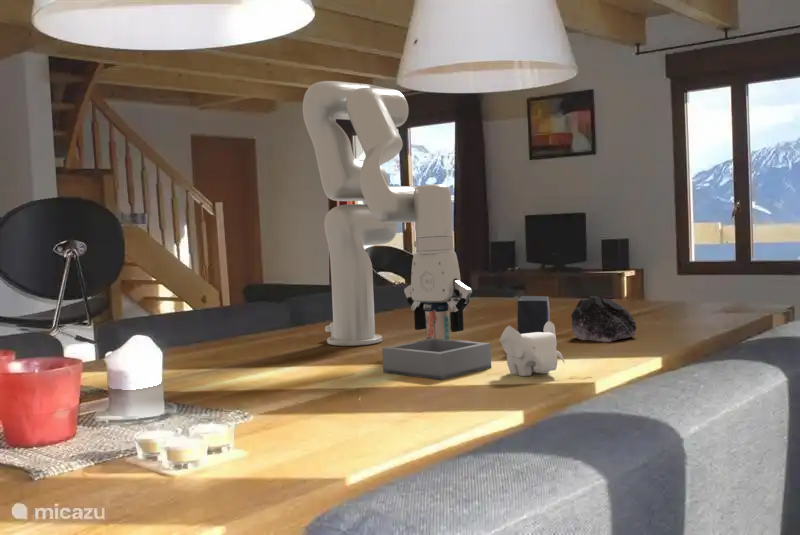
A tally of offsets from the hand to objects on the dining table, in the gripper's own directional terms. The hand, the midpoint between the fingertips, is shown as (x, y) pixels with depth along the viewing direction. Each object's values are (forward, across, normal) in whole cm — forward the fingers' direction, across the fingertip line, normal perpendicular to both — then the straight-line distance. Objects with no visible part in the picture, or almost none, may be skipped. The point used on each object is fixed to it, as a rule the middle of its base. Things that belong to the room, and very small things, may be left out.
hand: (438, 330), depth 175 cm
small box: (+6, +10, +18) cm, 22 cm away
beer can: (+5, 0, 0) cm, 5 cm away
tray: (+5, +11, -13) cm, 18 cm away
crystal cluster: (+6, +16, +37) cm, 41 cm away
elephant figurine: (+6, +28, -8) cm, 30 cm away
